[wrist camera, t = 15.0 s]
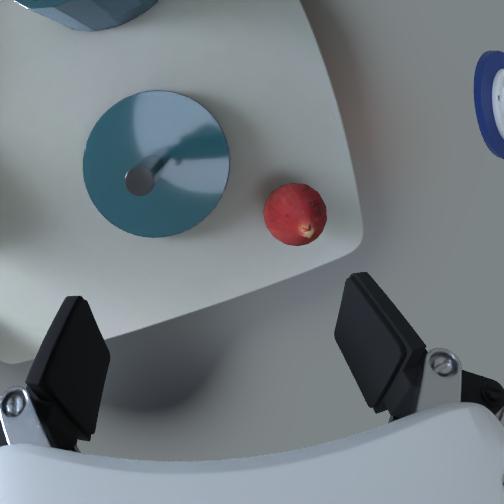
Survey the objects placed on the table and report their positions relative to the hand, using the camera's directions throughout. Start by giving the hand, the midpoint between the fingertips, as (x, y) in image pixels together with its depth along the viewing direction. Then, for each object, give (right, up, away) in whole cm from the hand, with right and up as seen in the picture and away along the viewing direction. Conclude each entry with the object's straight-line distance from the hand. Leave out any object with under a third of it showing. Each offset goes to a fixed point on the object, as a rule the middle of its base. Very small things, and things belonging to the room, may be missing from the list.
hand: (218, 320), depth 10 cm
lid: (-8, +10, +15) cm, 20 cm away
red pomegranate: (+5, +8, +20) cm, 22 cm away
